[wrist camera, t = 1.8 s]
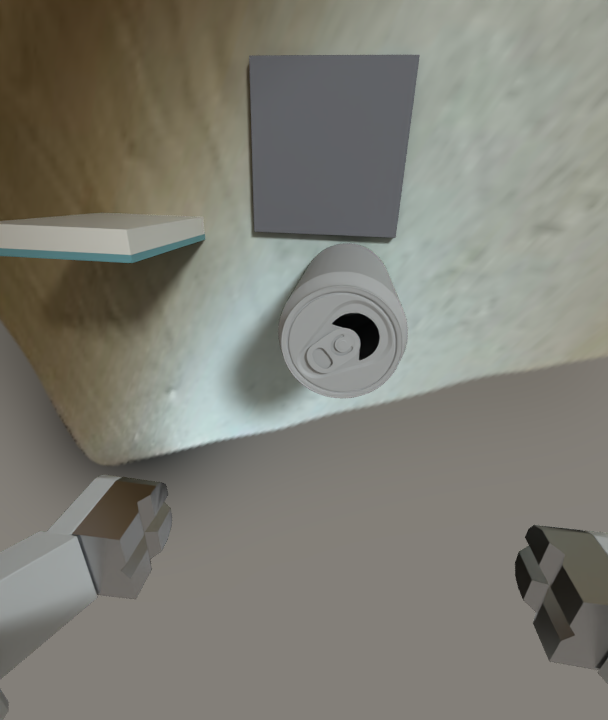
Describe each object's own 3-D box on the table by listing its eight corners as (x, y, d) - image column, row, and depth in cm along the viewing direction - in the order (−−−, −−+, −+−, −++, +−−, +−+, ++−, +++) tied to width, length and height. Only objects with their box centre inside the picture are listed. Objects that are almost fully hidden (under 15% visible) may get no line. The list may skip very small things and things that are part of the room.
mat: (251, 58, 22) (249, 55, 22) (417, 58, 21) (419, 54, 21) (256, 230, 26) (254, 231, 26) (394, 236, 25) (395, 237, 25)
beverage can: (404, 294, 27) (439, 363, 16) (335, 339, 29) (325, 426, 18) (357, 222, 25) (360, 245, 15) (287, 276, 28) (245, 331, 17)
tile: (101, 212, 27) (-22, 222, 18) (203, 216, 26) (126, 229, 17) (105, 234, 28) (-12, 255, 19) (205, 239, 27) (132, 263, 18)
